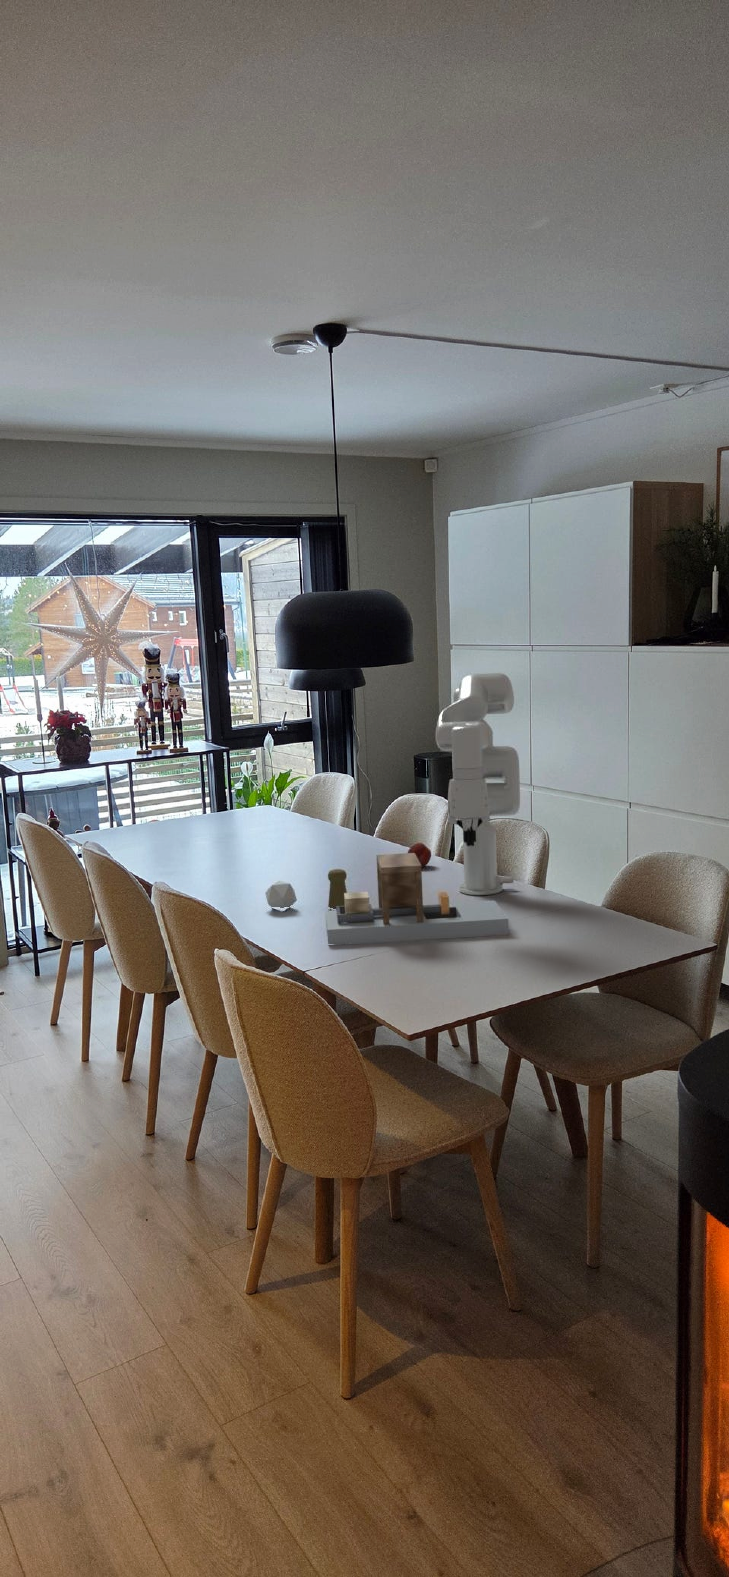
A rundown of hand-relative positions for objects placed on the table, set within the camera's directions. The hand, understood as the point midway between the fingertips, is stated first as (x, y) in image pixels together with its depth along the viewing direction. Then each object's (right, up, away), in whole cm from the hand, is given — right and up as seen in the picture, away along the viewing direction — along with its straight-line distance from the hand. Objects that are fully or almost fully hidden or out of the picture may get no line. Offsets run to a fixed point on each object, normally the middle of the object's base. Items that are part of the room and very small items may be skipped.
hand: (469, 844), depth 266 cm
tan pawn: (-34, -19, +26) cm, 47 cm away
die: (-50, -20, +27) cm, 60 cm away
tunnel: (-18, -18, 0) cm, 25 cm away
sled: (-20, -18, 0) cm, 27 cm away
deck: (-14, -22, +1) cm, 26 cm away
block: (-29, -19, 0) cm, 34 cm away
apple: (-9, -11, +72) cm, 73 cm away
